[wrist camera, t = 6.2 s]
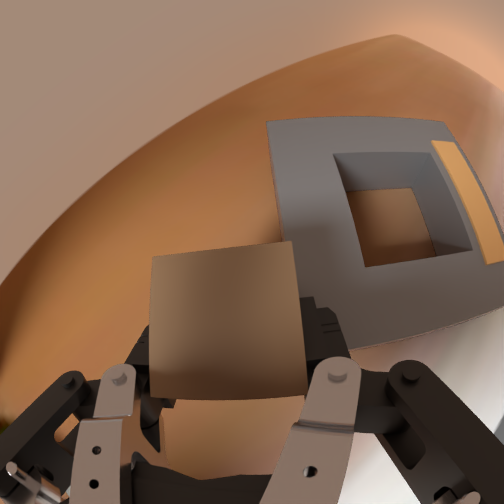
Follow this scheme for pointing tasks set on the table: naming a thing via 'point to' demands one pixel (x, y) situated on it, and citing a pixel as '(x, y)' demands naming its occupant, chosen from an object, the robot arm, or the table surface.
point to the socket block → (345, 236)
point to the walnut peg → (226, 325)
